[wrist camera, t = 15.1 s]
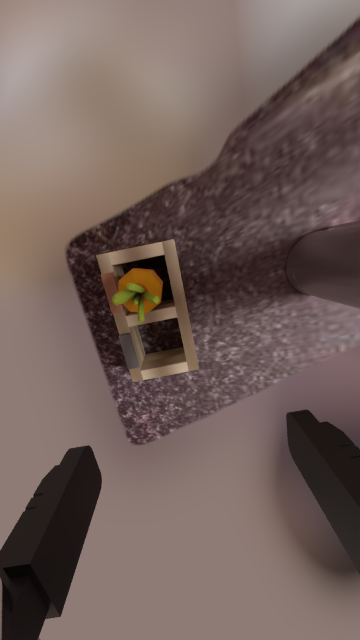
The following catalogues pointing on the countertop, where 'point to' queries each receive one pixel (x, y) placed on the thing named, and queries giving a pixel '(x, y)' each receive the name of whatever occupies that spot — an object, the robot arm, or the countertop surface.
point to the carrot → (139, 291)
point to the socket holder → (150, 314)
